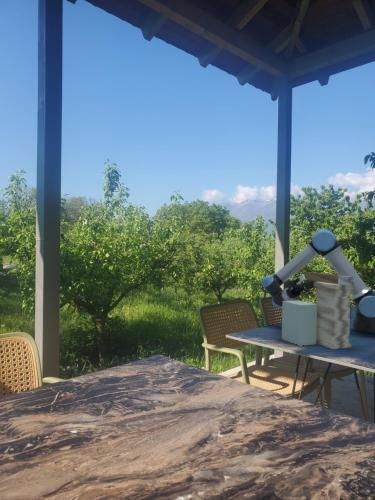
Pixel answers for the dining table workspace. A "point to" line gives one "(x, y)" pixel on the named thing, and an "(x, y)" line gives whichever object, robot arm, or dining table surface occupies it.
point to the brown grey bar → (331, 278)
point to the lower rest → (299, 322)
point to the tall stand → (333, 315)
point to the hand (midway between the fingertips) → (314, 276)
